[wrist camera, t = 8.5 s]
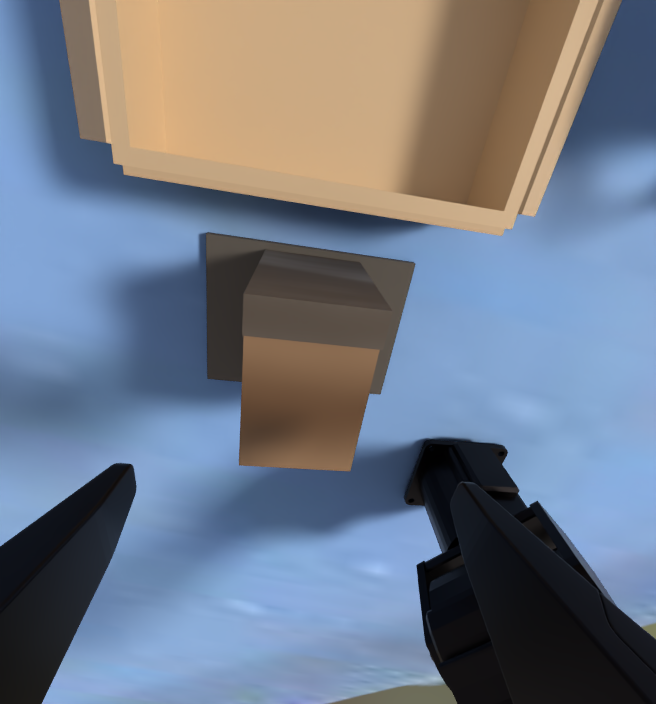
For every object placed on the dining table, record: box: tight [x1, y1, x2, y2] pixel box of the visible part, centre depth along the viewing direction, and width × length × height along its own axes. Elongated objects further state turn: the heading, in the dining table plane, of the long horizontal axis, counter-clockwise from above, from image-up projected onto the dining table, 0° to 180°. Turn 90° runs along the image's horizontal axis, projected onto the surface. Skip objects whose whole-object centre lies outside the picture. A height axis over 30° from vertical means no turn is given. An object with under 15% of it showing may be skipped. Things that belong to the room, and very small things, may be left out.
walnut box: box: [239, 249, 393, 471], centre depth 16 cm, size 8×5×7 cm, turn 172°
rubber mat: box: [206, 232, 415, 394], centre depth 20 cm, size 9×11×1 cm
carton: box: [59, 0, 622, 236], centre depth 12 cm, size 12×19×5 cm, turn 81°
